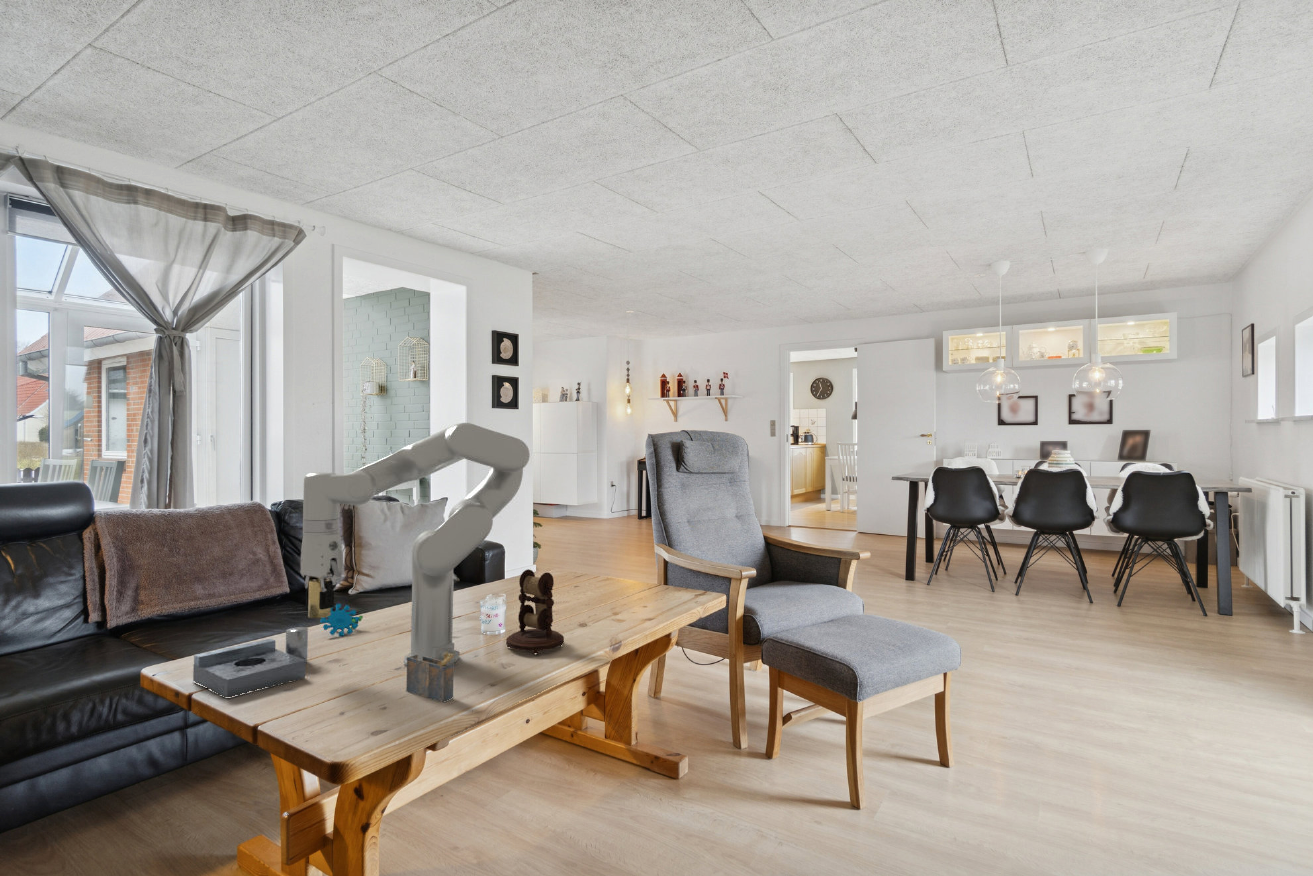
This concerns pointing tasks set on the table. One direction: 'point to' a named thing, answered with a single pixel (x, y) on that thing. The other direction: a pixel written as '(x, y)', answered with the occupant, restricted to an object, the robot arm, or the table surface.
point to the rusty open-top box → (430, 677)
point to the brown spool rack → (535, 615)
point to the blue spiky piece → (341, 620)
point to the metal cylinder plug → (297, 642)
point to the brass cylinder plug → (316, 600)
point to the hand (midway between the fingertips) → (319, 605)
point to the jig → (246, 668)
